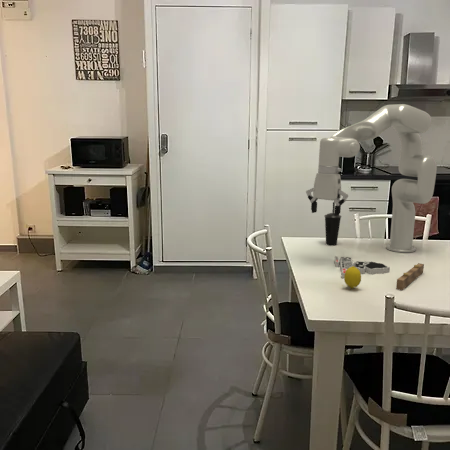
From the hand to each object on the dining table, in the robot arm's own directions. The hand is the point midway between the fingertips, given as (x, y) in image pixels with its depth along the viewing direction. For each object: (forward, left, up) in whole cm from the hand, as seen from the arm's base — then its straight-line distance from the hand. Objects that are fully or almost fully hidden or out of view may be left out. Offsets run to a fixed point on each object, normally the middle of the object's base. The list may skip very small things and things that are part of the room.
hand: (325, 213), depth 181 cm
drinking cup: (-30, -11, -21) cm, 38 cm away
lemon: (+20, +21, -21) cm, 36 cm away
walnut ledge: (-1, +34, -20) cm, 40 cm away
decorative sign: (-1, +16, -21) cm, 27 cm away
